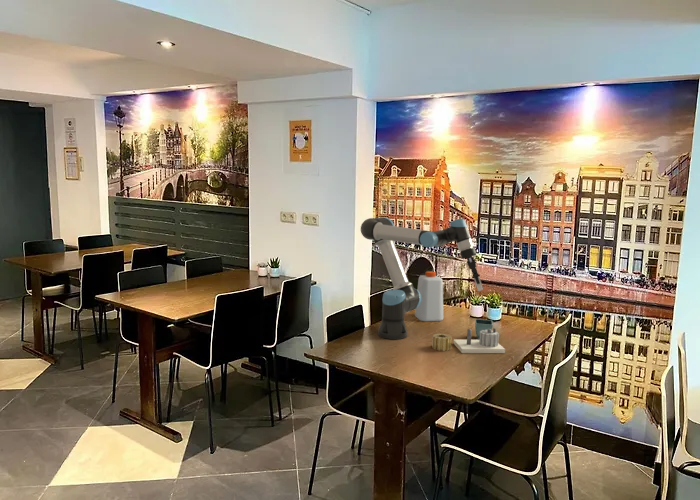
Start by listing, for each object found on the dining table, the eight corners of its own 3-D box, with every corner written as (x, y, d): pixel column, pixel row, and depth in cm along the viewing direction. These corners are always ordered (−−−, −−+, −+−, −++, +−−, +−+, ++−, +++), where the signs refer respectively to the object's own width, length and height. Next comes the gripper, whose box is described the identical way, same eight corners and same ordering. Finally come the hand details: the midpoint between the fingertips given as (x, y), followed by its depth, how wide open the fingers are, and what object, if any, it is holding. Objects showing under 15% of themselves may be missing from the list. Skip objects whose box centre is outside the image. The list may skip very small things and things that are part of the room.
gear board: (461, 353, 249) (463, 332, 248) (453, 343, 264) (454, 324, 263) (504, 353, 251) (506, 332, 249) (494, 343, 265) (495, 324, 264)
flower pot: (492, 341, 268) (493, 324, 267) (474, 340, 270) (475, 323, 269) (491, 336, 277) (492, 320, 276) (473, 335, 279) (474, 318, 278)
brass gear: (434, 351, 251) (435, 338, 250) (430, 345, 260) (430, 333, 259) (453, 351, 252) (453, 339, 251) (448, 345, 261) (448, 333, 260)
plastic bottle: (412, 315, 317) (414, 269, 313) (436, 314, 319) (438, 269, 316) (420, 322, 302) (422, 274, 298) (445, 321, 305) (447, 274, 301)
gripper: (473, 245, 247) (488, 288, 244) (474, 248, 271) (487, 287, 268) (458, 250, 248) (473, 293, 246) (460, 252, 272) (473, 291, 270)
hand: (480, 290), depth 257 cm, fingers open, 13 cm apart
